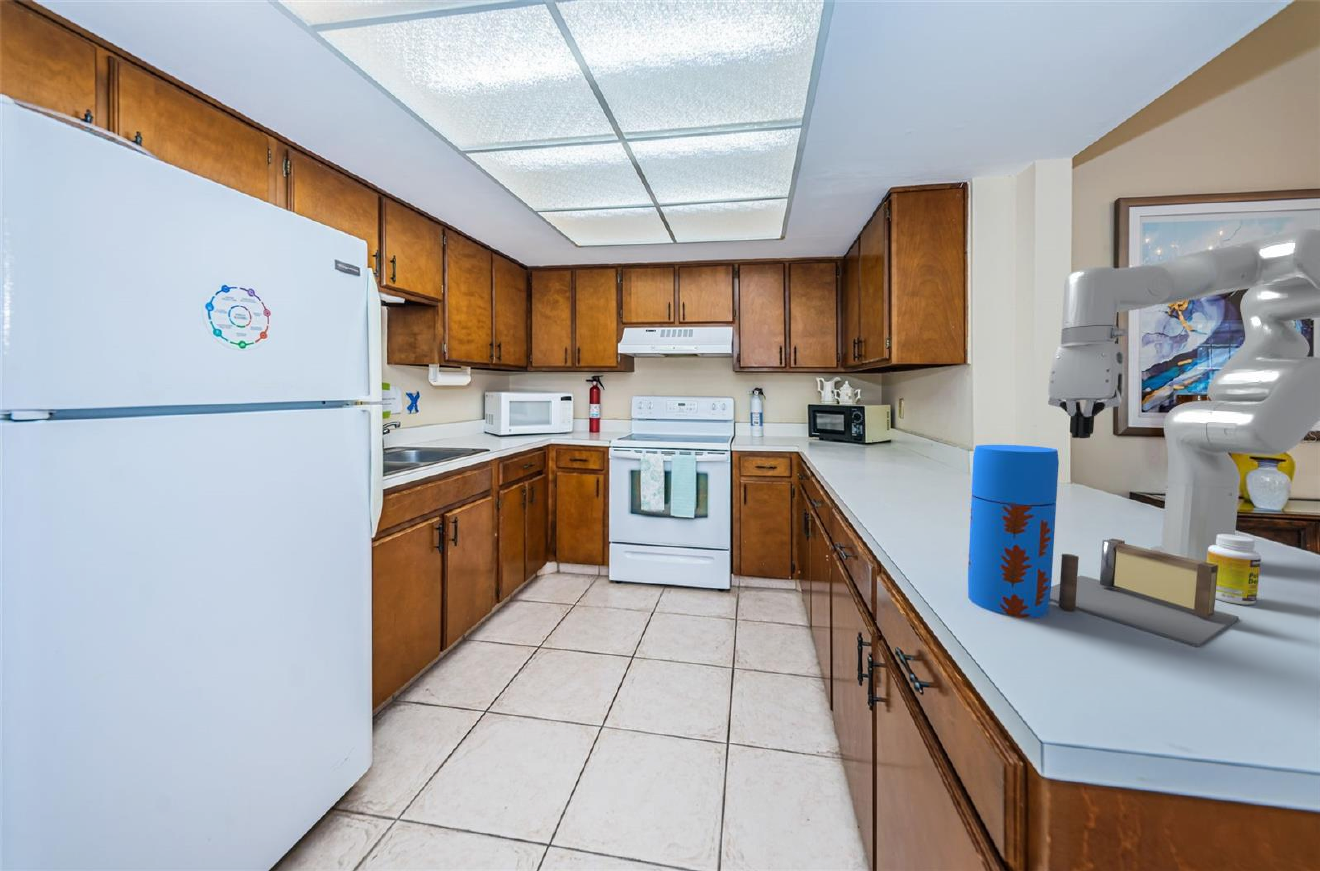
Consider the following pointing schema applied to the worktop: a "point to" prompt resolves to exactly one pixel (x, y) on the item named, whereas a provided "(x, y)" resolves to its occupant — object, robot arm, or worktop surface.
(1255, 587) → the supplement bottle
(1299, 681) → the worktop surface
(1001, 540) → the thermos
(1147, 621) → the gate frame
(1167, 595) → the gate
